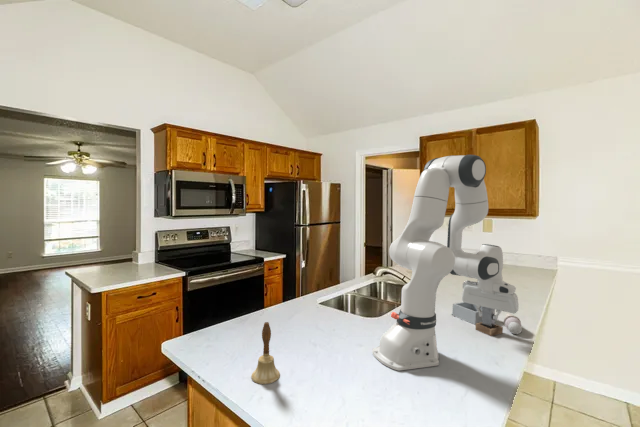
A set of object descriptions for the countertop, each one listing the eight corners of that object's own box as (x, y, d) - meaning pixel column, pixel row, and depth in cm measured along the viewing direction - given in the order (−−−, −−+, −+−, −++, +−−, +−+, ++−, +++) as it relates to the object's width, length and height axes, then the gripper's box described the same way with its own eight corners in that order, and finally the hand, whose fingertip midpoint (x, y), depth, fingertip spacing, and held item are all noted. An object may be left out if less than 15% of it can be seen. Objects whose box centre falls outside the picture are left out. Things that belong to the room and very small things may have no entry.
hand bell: (285, 375, 92) (286, 322, 91) (263, 388, 86) (263, 330, 85) (268, 365, 97) (268, 315, 97) (245, 376, 91) (245, 322, 91)
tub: (475, 324, 133) (475, 312, 133) (452, 315, 144) (452, 303, 144) (493, 320, 138) (494, 308, 138) (470, 311, 149) (470, 300, 149)
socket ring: (491, 336, 122) (491, 329, 122) (475, 329, 128) (475, 323, 128) (502, 333, 125) (502, 327, 125) (486, 326, 131) (487, 320, 131)
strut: (492, 333, 124) (491, 300, 124) (481, 330, 127) (480, 298, 127) (496, 331, 126) (495, 298, 126) (485, 328, 130) (484, 296, 130)
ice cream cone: (507, 321, 137) (516, 341, 123) (496, 312, 138) (503, 330, 124) (519, 312, 135) (529, 331, 121) (507, 303, 136) (515, 321, 122)
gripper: (460, 280, 131) (458, 313, 131) (516, 291, 117) (514, 327, 117) (465, 278, 136) (464, 309, 136) (520, 288, 121) (518, 323, 122)
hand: (488, 318), depth 127 cm, fingers open, 4 cm apart
